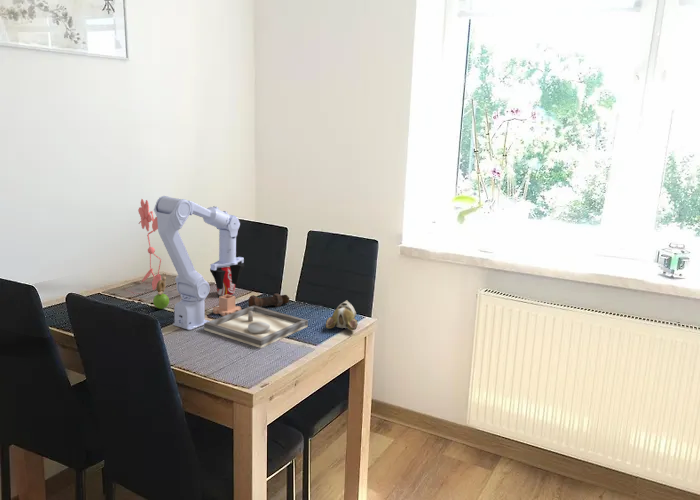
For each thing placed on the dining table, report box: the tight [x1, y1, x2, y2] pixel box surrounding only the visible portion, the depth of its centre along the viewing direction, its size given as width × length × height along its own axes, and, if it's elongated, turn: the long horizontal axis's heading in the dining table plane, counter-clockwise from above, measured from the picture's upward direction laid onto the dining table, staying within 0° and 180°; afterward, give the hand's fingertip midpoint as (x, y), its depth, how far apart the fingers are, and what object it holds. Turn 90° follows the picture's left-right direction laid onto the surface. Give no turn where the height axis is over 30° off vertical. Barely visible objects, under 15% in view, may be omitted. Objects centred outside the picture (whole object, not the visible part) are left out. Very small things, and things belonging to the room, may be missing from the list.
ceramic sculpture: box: [325, 299, 358, 331], centre depth 206 cm, size 11×9×15 cm
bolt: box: [248, 293, 290, 308], centre depth 223 cm, size 6×5×15 cm
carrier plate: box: [203, 305, 309, 349], centre depth 201 cm, size 24×24×4 cm
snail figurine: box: [152, 272, 170, 310], centre depth 215 cm, size 5×6×12 cm
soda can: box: [216, 266, 236, 297], centre depth 234 cm, size 7×7×12 cm
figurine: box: [124, 198, 162, 295], centre depth 235 cm, size 15×26×35 cm, turn 35°
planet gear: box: [212, 294, 242, 317], centre depth 216 cm, size 9×9×6 cm
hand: (227, 286), depth 214 cm, fingers open, 7 cm apart
